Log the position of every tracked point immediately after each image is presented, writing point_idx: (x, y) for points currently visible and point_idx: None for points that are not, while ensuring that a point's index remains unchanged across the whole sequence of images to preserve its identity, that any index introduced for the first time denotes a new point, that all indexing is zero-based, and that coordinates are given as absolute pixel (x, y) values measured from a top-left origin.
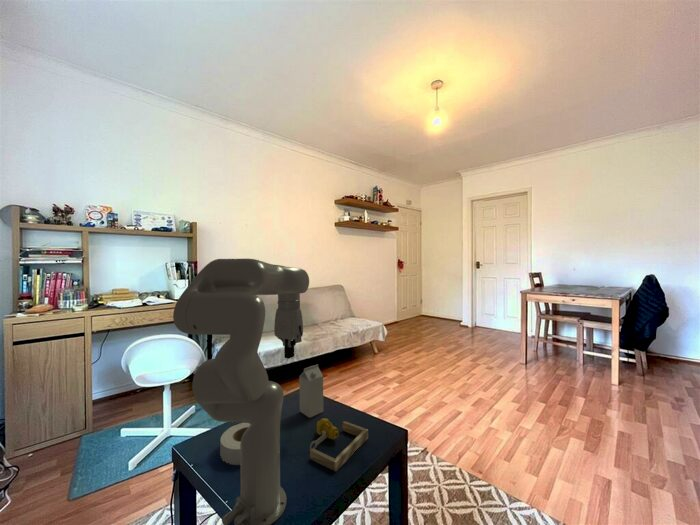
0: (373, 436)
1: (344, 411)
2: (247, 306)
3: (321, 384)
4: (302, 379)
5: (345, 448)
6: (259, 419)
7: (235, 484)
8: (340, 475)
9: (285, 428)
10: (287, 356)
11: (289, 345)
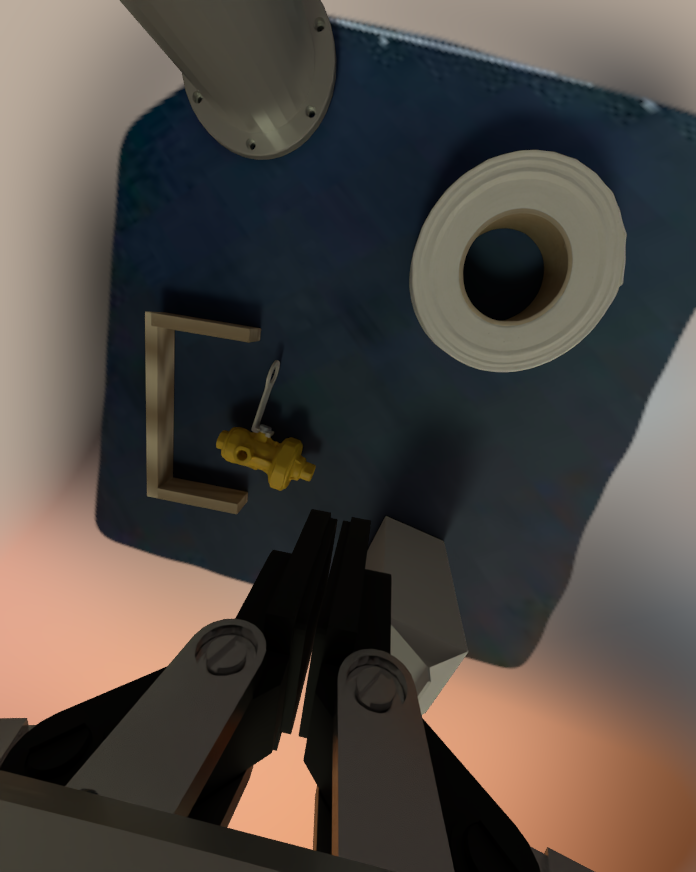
0: None
1: None
2: None
3: None
4: (438, 630)
5: (156, 384)
6: None
7: (409, 115)
8: (148, 308)
9: (433, 435)
10: (309, 521)
11: (211, 655)
